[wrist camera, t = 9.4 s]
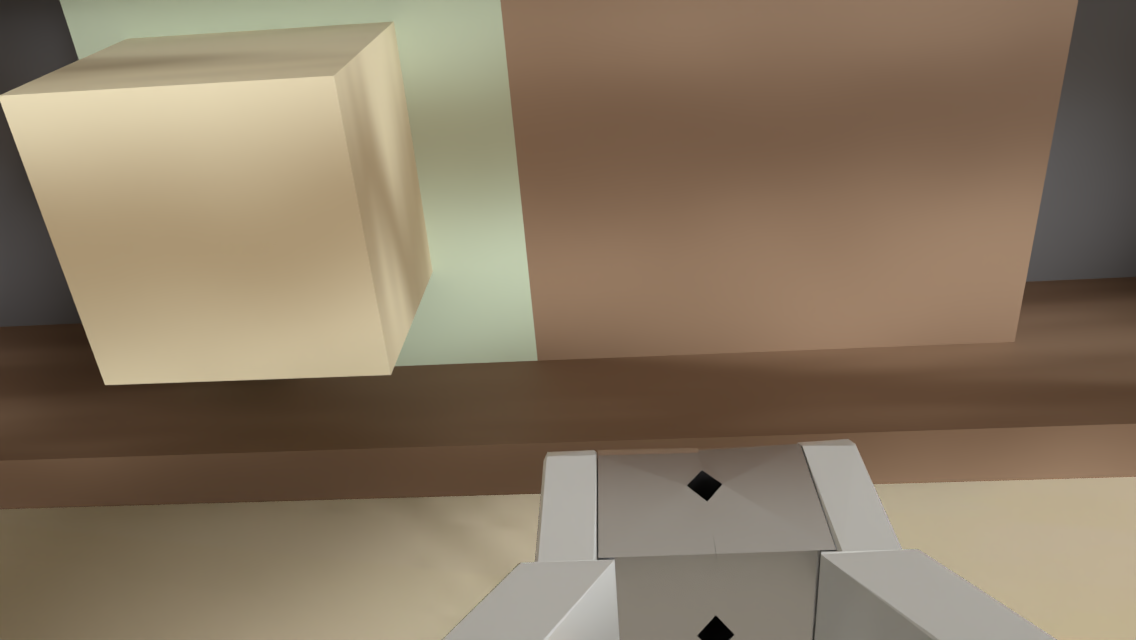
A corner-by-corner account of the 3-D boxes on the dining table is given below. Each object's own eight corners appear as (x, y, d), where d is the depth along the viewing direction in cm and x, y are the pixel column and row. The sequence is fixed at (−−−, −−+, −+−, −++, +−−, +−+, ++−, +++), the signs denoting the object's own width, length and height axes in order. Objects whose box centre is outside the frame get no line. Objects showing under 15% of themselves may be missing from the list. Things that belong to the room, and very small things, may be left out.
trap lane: (1306, 308, 22) (1529, 465, 16) (-51, 364, 24) (-237, 515, 19) (1507, -259, 16) (1938, -297, 11) (-272, -111, 19) (-620, -84, 13)
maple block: (432, 271, 19) (391, 374, 15) (198, 281, 19) (105, 385, 16) (393, 21, 16) (333, 75, 13) (127, 38, 17) (-3, 96, 13)
